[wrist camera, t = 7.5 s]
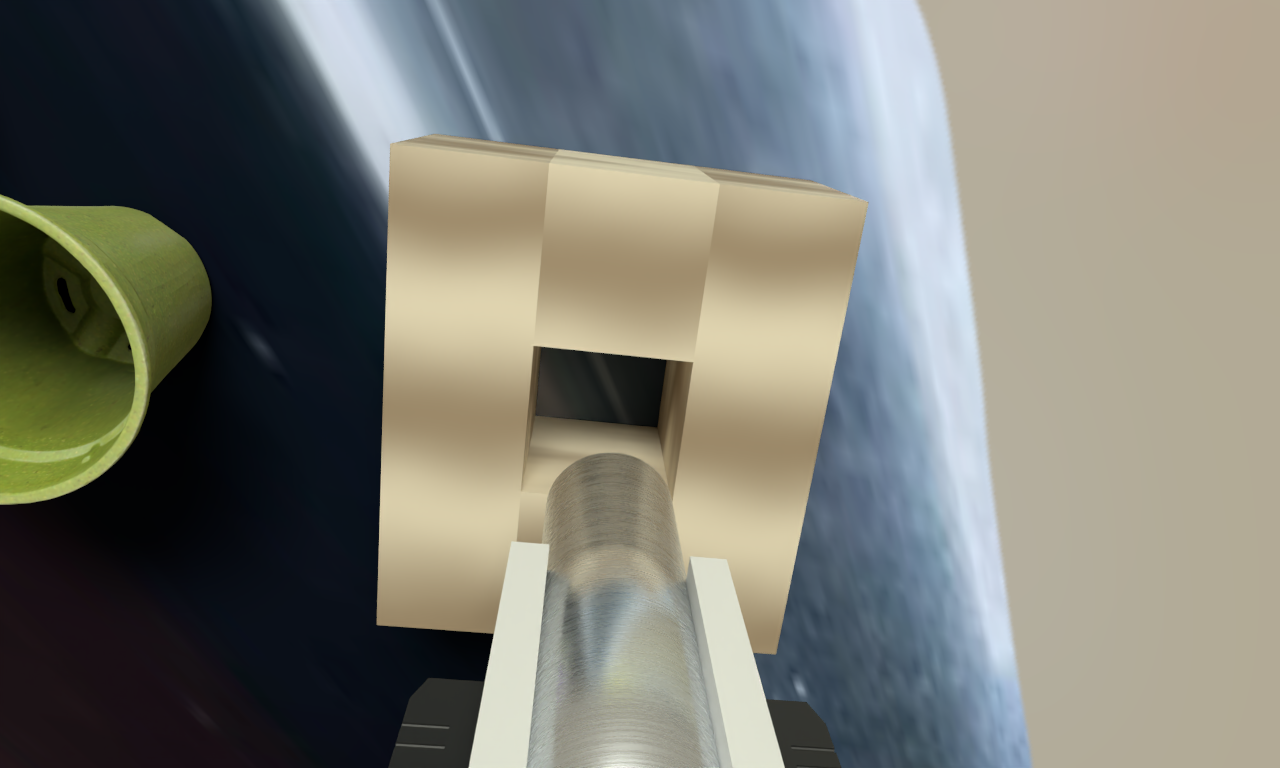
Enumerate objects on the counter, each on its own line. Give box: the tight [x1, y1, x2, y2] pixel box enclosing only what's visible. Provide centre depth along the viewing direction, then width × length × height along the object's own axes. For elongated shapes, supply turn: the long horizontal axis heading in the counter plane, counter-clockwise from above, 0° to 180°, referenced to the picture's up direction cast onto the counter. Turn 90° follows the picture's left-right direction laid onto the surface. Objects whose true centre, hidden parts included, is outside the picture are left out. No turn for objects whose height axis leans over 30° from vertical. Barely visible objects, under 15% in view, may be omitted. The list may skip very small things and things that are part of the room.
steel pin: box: [526, 453, 720, 768], centre depth 16 cm, size 3×3×12 cm
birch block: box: [377, 134, 868, 654], centre depth 30 cm, size 16×14×7 cm
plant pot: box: [0, 195, 212, 505], centre depth 28 cm, size 9×9×9 cm
